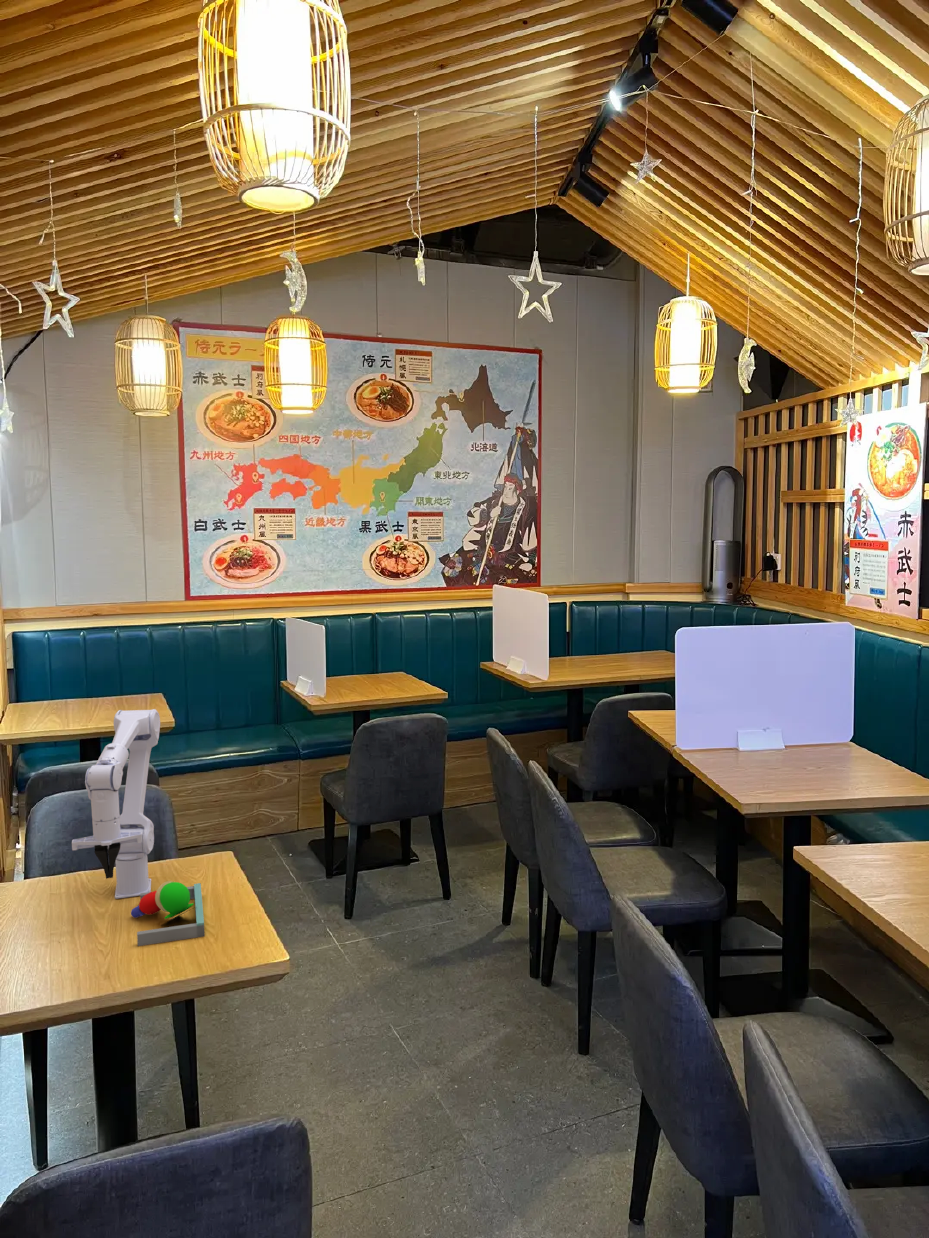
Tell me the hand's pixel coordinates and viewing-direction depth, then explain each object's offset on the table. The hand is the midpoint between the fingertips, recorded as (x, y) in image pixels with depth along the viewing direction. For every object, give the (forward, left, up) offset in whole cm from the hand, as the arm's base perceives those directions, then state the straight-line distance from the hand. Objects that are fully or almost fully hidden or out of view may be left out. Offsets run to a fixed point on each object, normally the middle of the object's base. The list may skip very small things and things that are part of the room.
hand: (109, 876), depth 203 cm
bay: (+6, +12, -9) cm, 16 cm away
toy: (+6, +11, -10) cm, 16 cm away
